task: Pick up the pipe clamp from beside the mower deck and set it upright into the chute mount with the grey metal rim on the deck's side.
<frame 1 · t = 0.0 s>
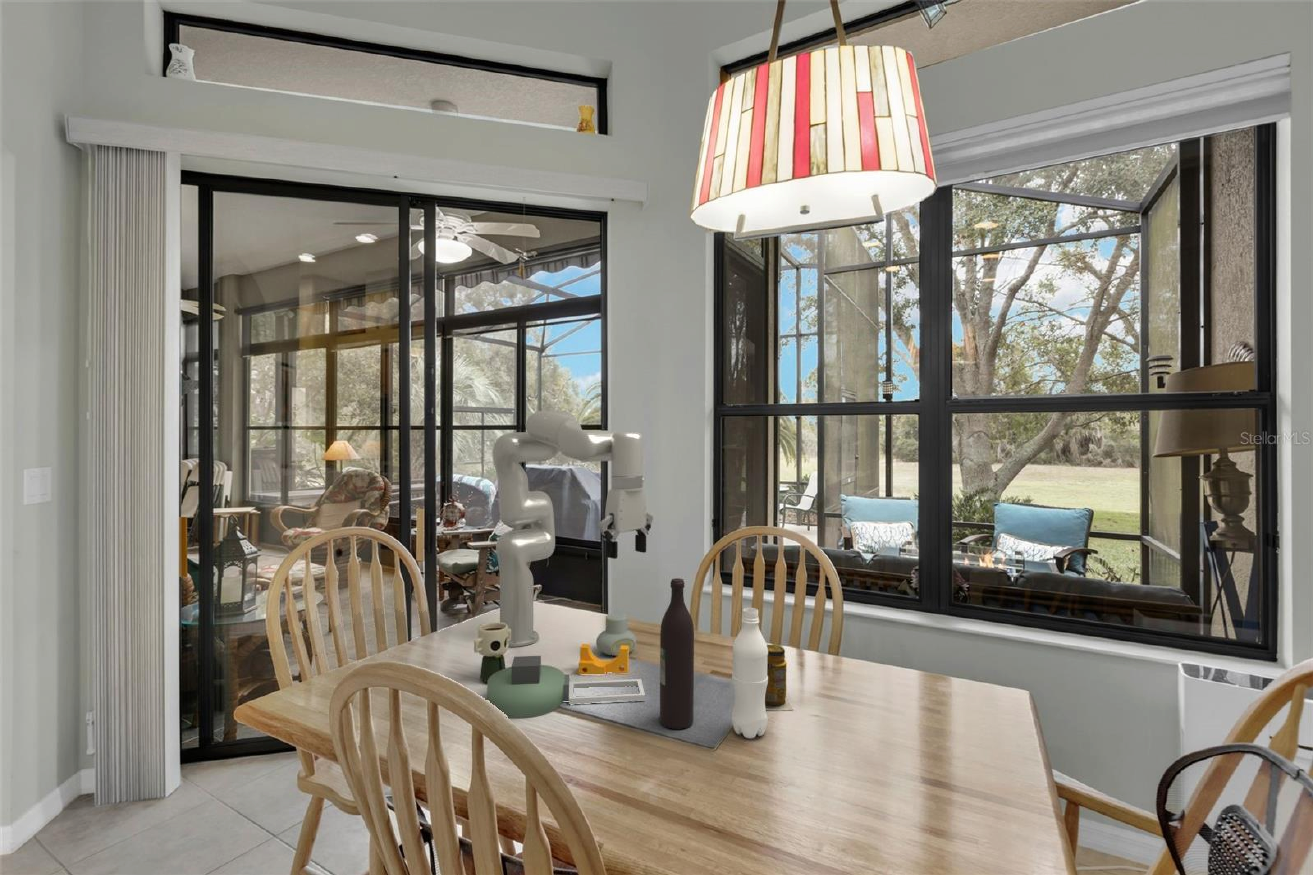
hand: (626, 554, 150), 31 cm above the table, tool pointing down, fingers open, 9 cm apart
character mug: (493, 680, 153), on the table
condiment: (772, 703, 141), on the table
pipe clamp: (604, 674, 157), on the table
water bottle: (749, 733, 127), on the table
air freshener: (616, 653, 171), on the table
mower deck: (562, 697, 143), on the table
wine bottle: (676, 723, 131), on the table
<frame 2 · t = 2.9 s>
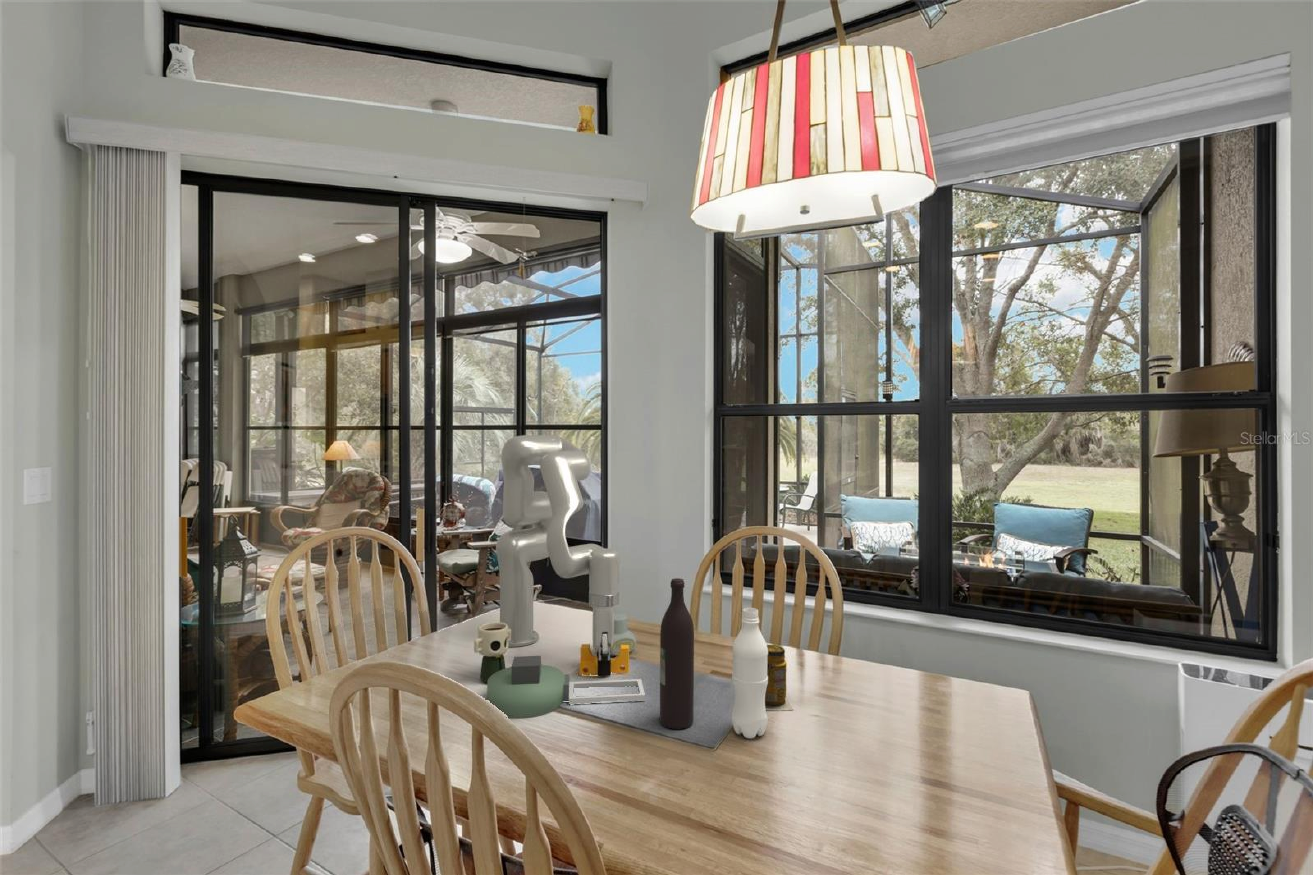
hand: (603, 670, 157), 1 cm above the table, tool pointing down, fingers closed on pipe clamp, 4 cm apart
pipe clamp: (604, 674, 157), on the table, touching gripper
everything else where it was.
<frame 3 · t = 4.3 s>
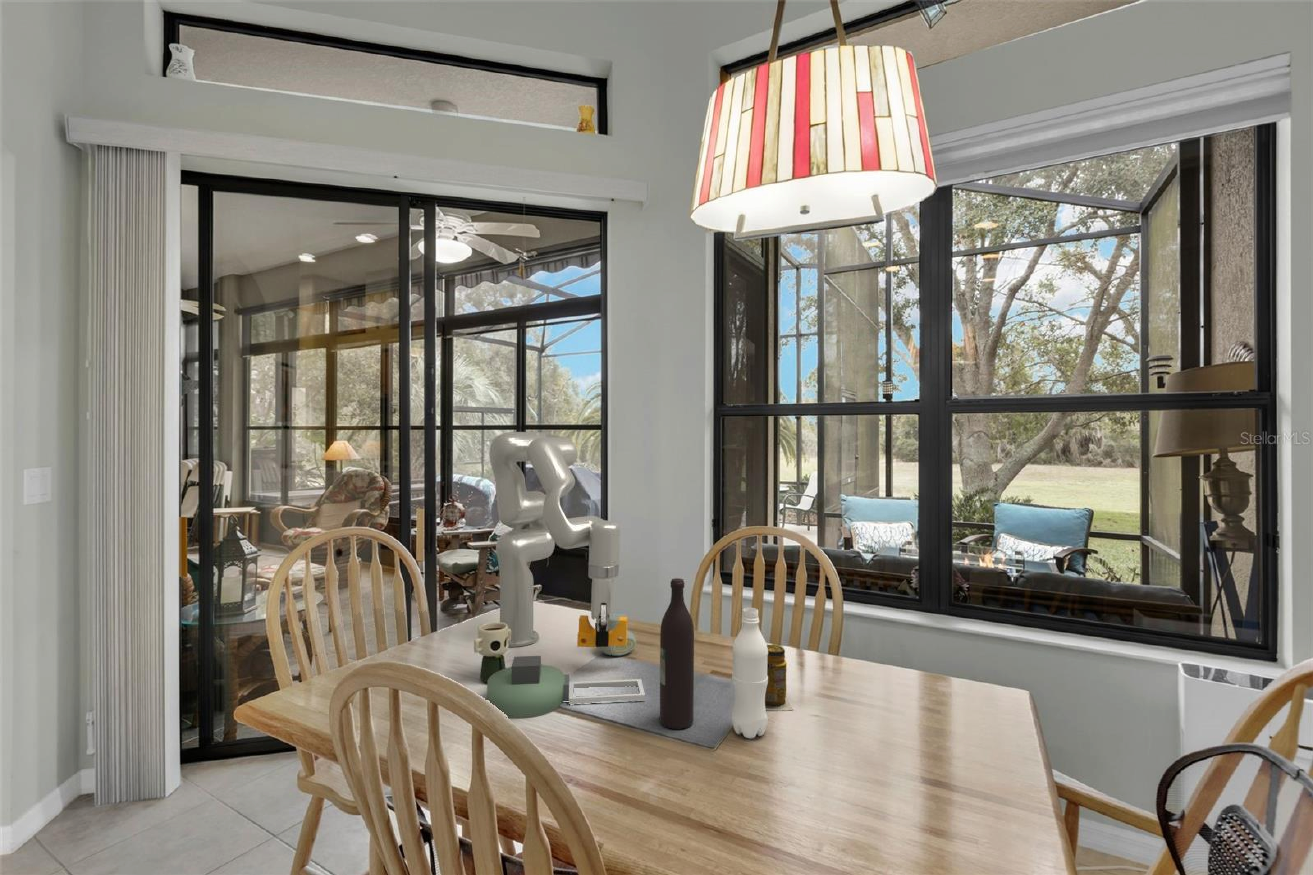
hand: (601, 641, 158), 8 cm above the table, tool pointing down, fingers closed on pipe clamp, 4 cm apart
pipe clamp: (602, 645, 157), point 7 cm above the table, touching gripper
everything else where it was.
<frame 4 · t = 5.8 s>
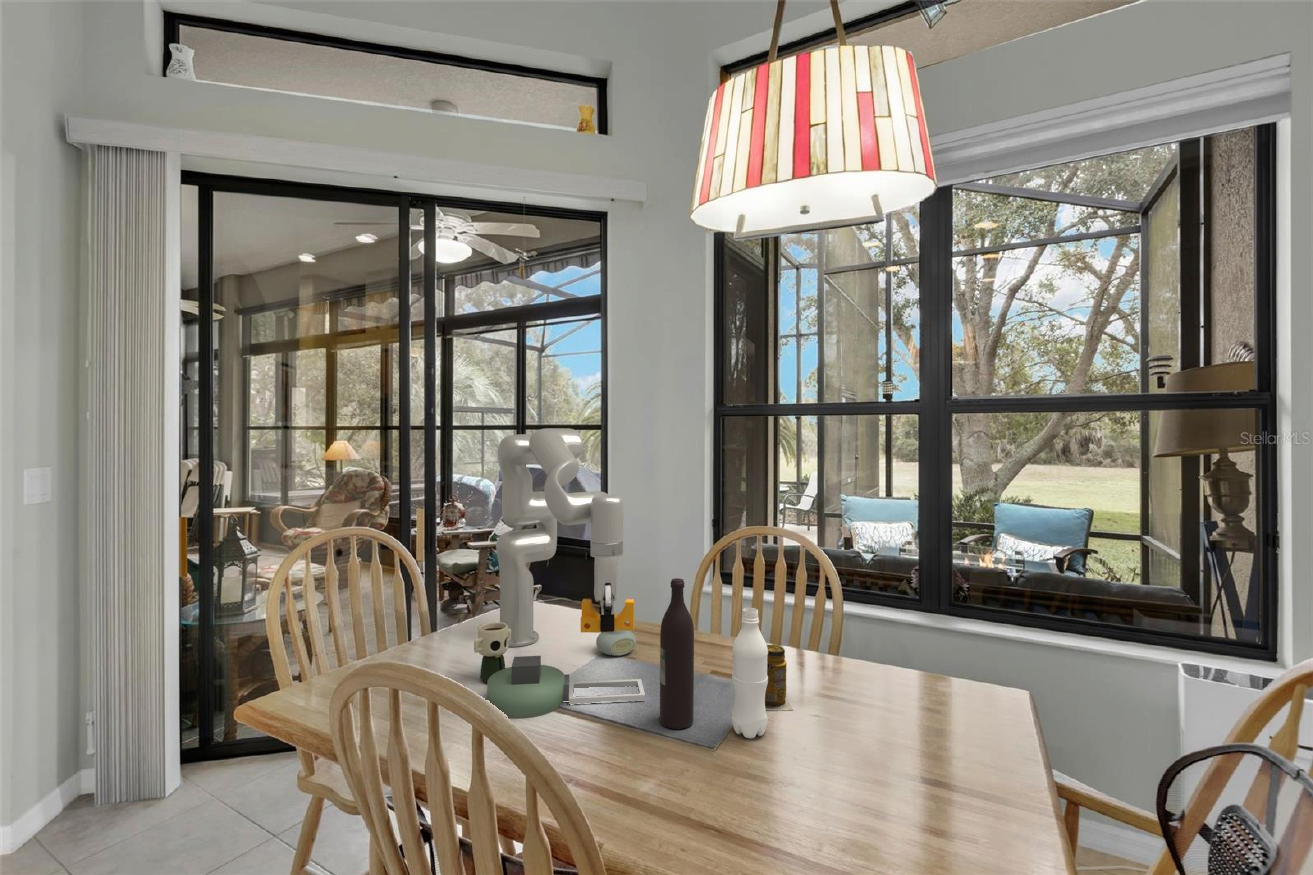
hand: (606, 626, 145), 16 cm above the table, tool pointing down, fingers closed on pipe clamp, 4 cm apart
pipe clamp: (607, 630, 144), point 15 cm above the table, touching gripper
everything else where it was.
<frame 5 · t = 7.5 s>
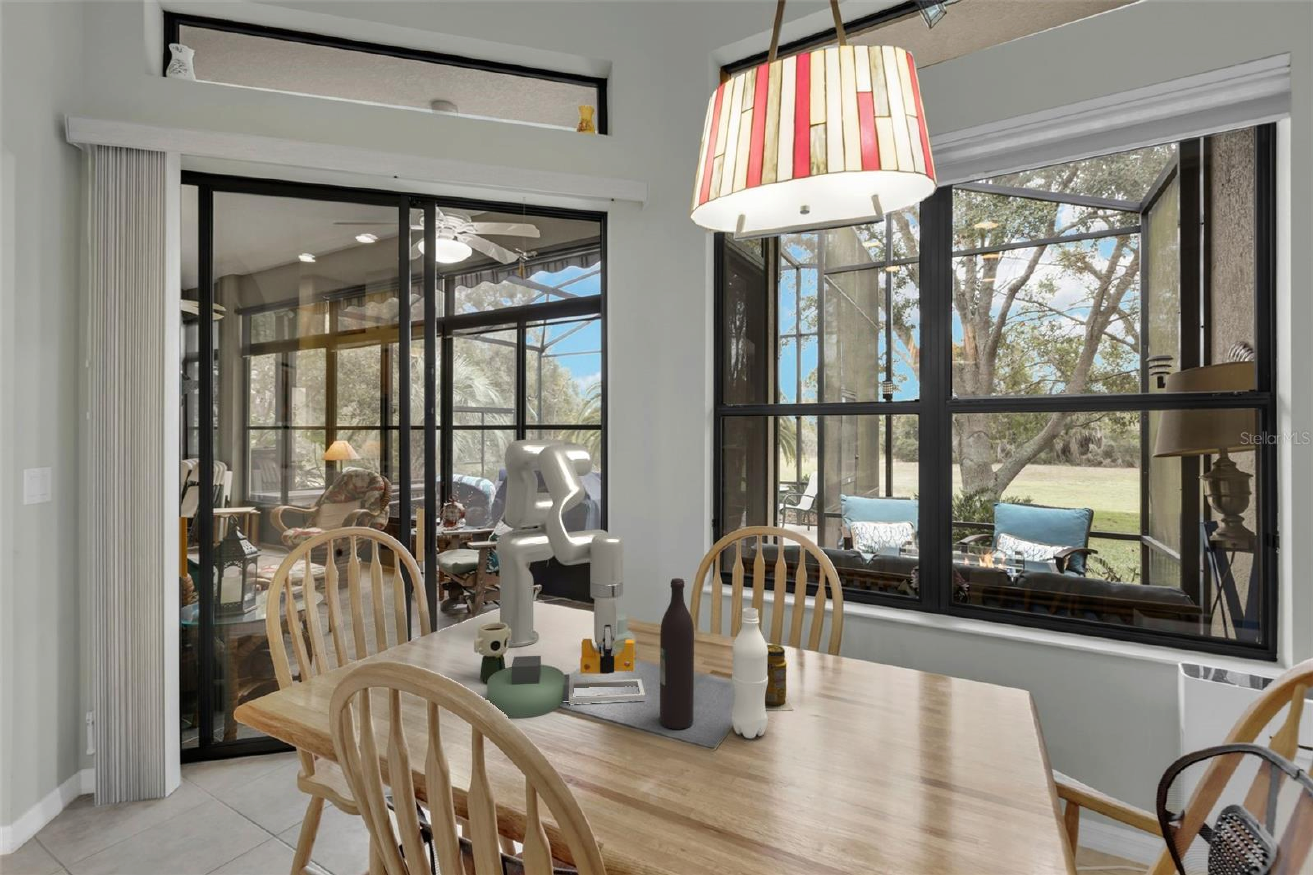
hand: (606, 667, 144), 6 cm above the table, tool pointing down, fingers closed on pipe clamp, 4 cm apart
pipe clamp: (607, 671, 144), point 6 cm above the table, touching gripper
everything else where it was.
when the fingers open (3 cm above the table, at t = 8.6 s): pipe clamp drops 2 cm, resting on mower deck.
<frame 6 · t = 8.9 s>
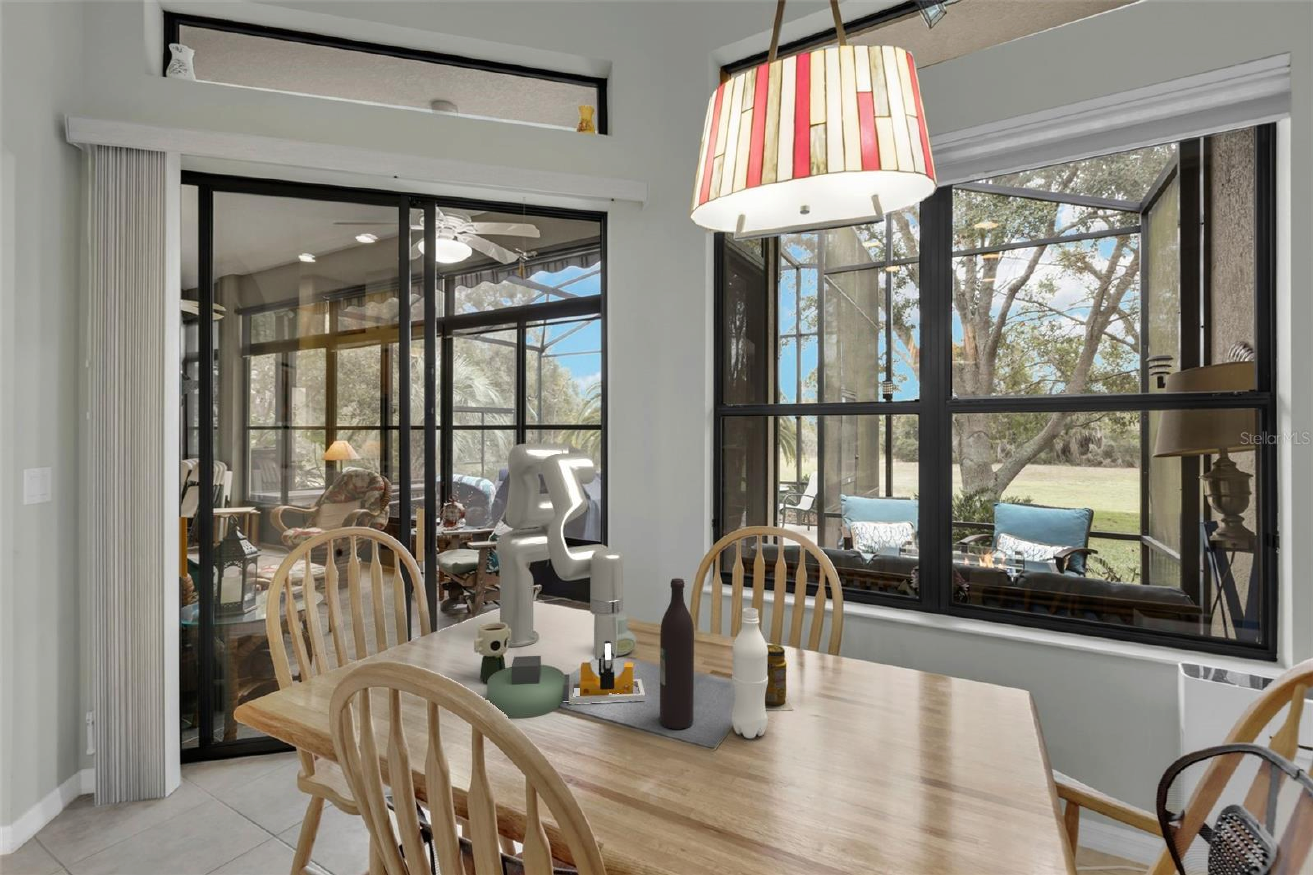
hand: (606, 681, 144), 3 cm above the table, tool pointing down, fingers open, 7 cm apart
pipe clamp: (606, 694, 144), resting on mower deck
everything else where it was.
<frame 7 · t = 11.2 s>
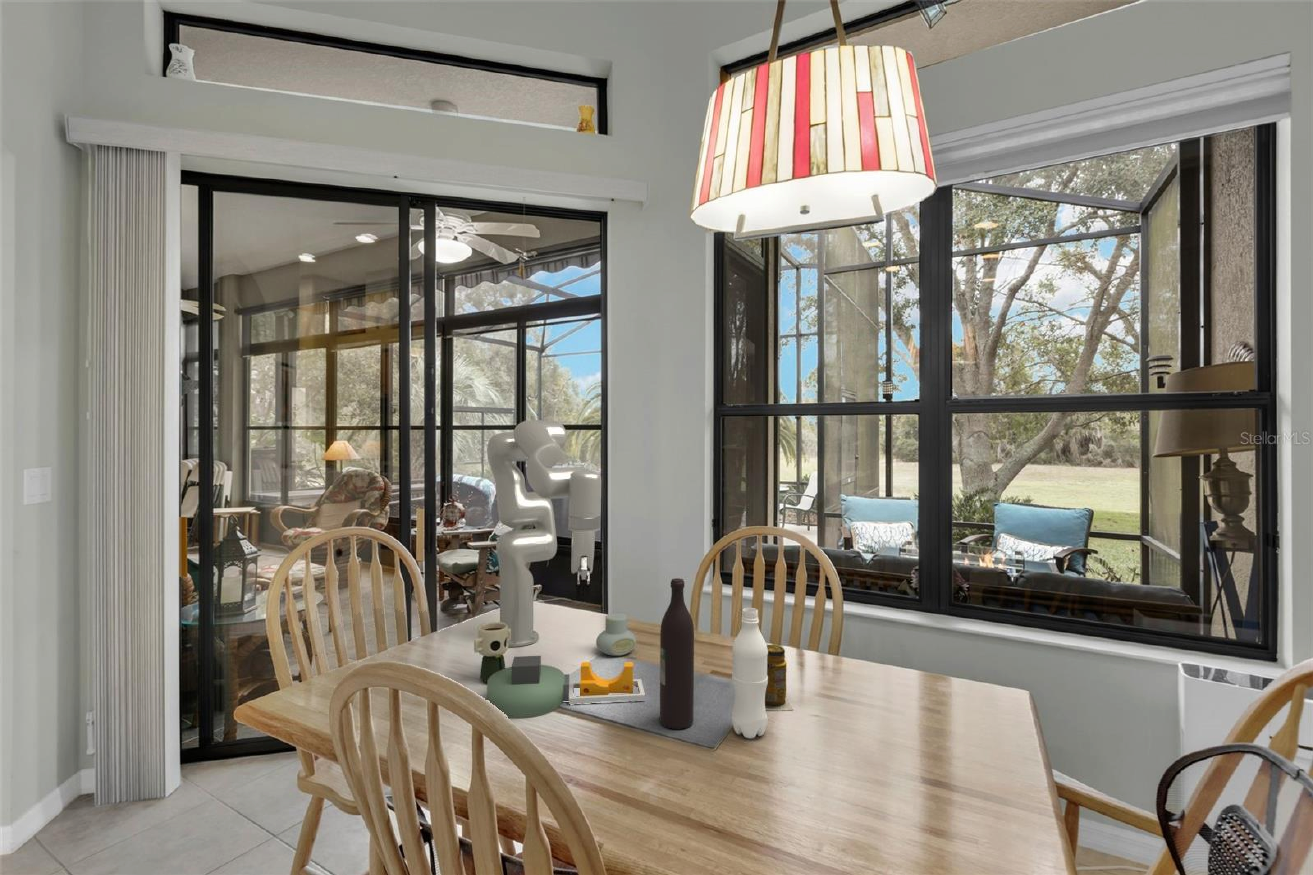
hand: (582, 594, 149), 22 cm above the table, tool pointing down, fingers open, 9 cm apart
nothing on the table moved.
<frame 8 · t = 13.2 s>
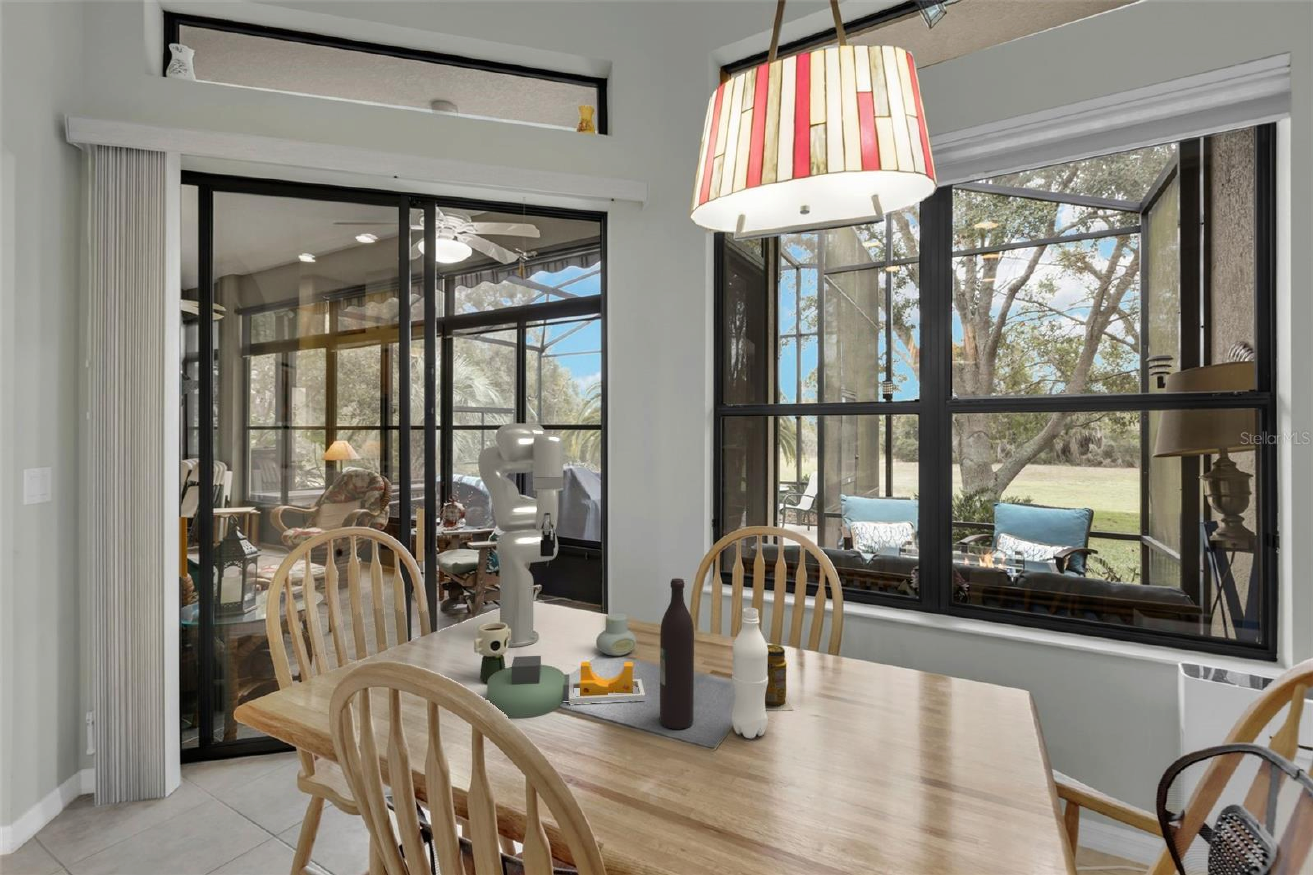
hand: (548, 552, 157), 30 cm above the table, tool pointing down, fingers open, 9 cm apart
nothing on the table moved.
at the end: pipe clamp 0.5 cm from the target spot on the mower deck, point 0.0 cm above the mower deck's base; pipe clamp tilted 0°; the gripper is holding nothing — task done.
